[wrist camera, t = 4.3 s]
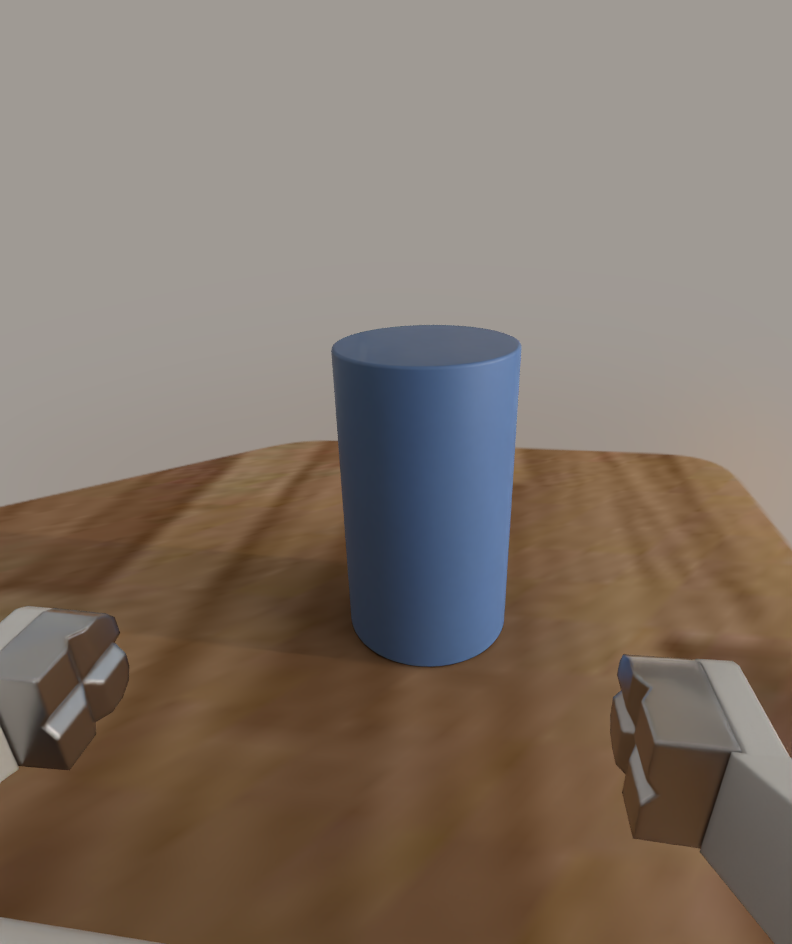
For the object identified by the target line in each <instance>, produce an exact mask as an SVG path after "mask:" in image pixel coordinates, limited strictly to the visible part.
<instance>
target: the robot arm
mask: <svg viewBox="0 0 792 944" xmlns="http://www.w3.org/2000/svg"><path fill="white" fill-rule="evenodd" d="M119 634H120V631H119V628H118V625H117V622H116V620H115V617H113V616H111V615H108V614H106V613H97V612H87V611H78V610H68V609H59V608H52V609H51V608H43V607H34V606H25V607H22V608H18V609H15V610H14V611H13V612H12V613H11V614H10V615H8V616H7V617H6V618H5V619H4V620H3V621H1V622H0V782H1V781H3V780H4V779H6V778H7V777H8V776H10V775H11V774H13V773H14V772H15V771H17V770H18V769H19V767H18V766H25V767H36V768H47V769H59V770H70V769H71V768H72V767H73V765H74V764H75V763H76V761H77V760H78V758H79V757H80V756H81V754H82V753H83V752H84V750H85V749H86V748H87V746H88V745H89V744H90V742H91V741H92V739H93V738H94V737H95V735H96V722H97V721H98V720H100V719H102V718H103V717H105V716H107V715H108V714H110V713H112V712H113V711H114V709H115V708H116V706H117V705H118V704H119V702H120V701H121V699H122V698H123V696H124V693H125V690H126V687H127V684H128V681H129V663H128V659H127V655H126V653H125V652H124V651H123V650H122V649H121V648H120V647H119V646H118V645H117V644H116V643H115V641H116V639H117V638H118V636H119ZM617 676H618V680H619V684H620V687H621V691H620V692H619V693H618V694H616V695H615V696H614V697H613V701H612V707H611V714H610V734H611V742H612V749H613V754H614V759H615V763H616V765H617V766H618V767H619V768H620V769H621V770H622V771H623V772H624V773H625V774H626V776H625V781H624V786H623V791H622V794H623V798H624V802H625V807H626V811H627V815H628V819H629V824H630V828H631V832H632V836H633V839H640V840H647V841H653V842H660V843H667V844H673V845H680V846H687V847H694V848H700V853H701V854H702V855H703V856H704V858H705V859H706V860H707V861H708V863H709V864H710V865H711V866H712V867H713V869H714V870H715V871H716V872H717V874H718V875H719V876H720V877H721V879H722V880H723V881H724V882H725V883H726V885H727V886H728V887H729V888H730V890H731V891H732V892H733V893H734V895H735V896H736V897H737V898H738V899H739V901H740V902H741V903H742V904H743V906H744V907H745V908H746V909H747V911H748V912H749V913H750V914H751V915H752V917H753V918H754V919H755V920H756V922H757V923H758V924H759V925H760V926H761V928H762V929H763V930H764V931H765V933H766V934H767V935H768V936H769V938H770V939H771V940H772V941H773V942H774V944H792V758H790V757H789V755H788V753H787V751H786V749H785V748H784V746H783V744H782V742H781V740H780V739H779V737H778V735H777V733H776V731H775V730H774V728H773V726H772V724H771V722H770V721H769V719H768V717H767V715H766V713H765V712H764V710H763V708H762V706H761V704H760V703H759V701H758V699H757V697H756V695H755V693H754V692H753V690H752V688H751V686H750V684H749V683H748V681H747V679H746V677H745V675H744V674H743V672H742V670H741V668H740V666H738V665H737V664H736V663H735V662H733V661H723V660H707V659H695V660H693V659H682V658H669V657H655V656H641V655H627V654H623V656H622V658H621V660H620V663H619V668H618V673H617ZM0 944H165V943H158V942H152V941H146V940H140V939H134V938H127V937H121V936H115V935H109V934H103V933H96V932H90V931H84V930H78V929H72V928H65V927H59V926H53V925H47V924H41V923H34V922H28V921H22V920H16V919H10V918H3V917H0Z"/></svg>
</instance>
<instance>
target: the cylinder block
mask: <svg viewBox="0 0 792 944" xmlns="http://www.w3.org/2000/svg"><path fill="white" fill-rule="evenodd" d="M331 352H332V365H333V377H334V390H335V391H334V392H335V405H336V418H337V431H338V445H339V458H340V472H341V485H342V498H343V512H344V525H345V538H346V551H347V565H348V578H349V591H350V605H351V618H352V624H353V627H354V629H355V632H356V633H357V635H358V636H359V638H360V639H361V640H362V641H363V643H364V644H365V645H366V646H368V647H369V648H370V649H371V650H373V651H374V652H376V653H377V654H379V655H381V656H383V657H385V658H387V659H390V660H393V661H396V662H399V663H403V664H407V665H414V666H428V667H432V666H444V665H450V664H455V663H459V662H462V661H465V660H468V659H470V658H473V657H474V656H476V655H478V654H480V653H482V652H483V651H484V650H486V649H487V648H488V647H489V646H490V645H491V644H492V643H493V642H494V641H495V640H496V638H497V637H498V636H499V634H500V632H501V630H502V627H503V623H504V611H505V595H506V579H507V564H508V548H509V532H510V517H511V501H512V485H513V470H514V454H515V438H516V423H517V406H518V392H519V375H520V360H521V344H520V342H519V341H518V340H517V339H516V338H514V337H512V336H510V335H507V334H504V333H501V332H498V331H494V330H488V329H483V328H476V327H466V326H450V325H417V326H400V327H390V328H382V329H376V330H370V331H365V332H360V333H357V334H354V335H350V336H347V337H345V338H343V339H341V340H339V341H337V342H336V343H335V344H334V345H333V347H332V351H331Z"/></svg>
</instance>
